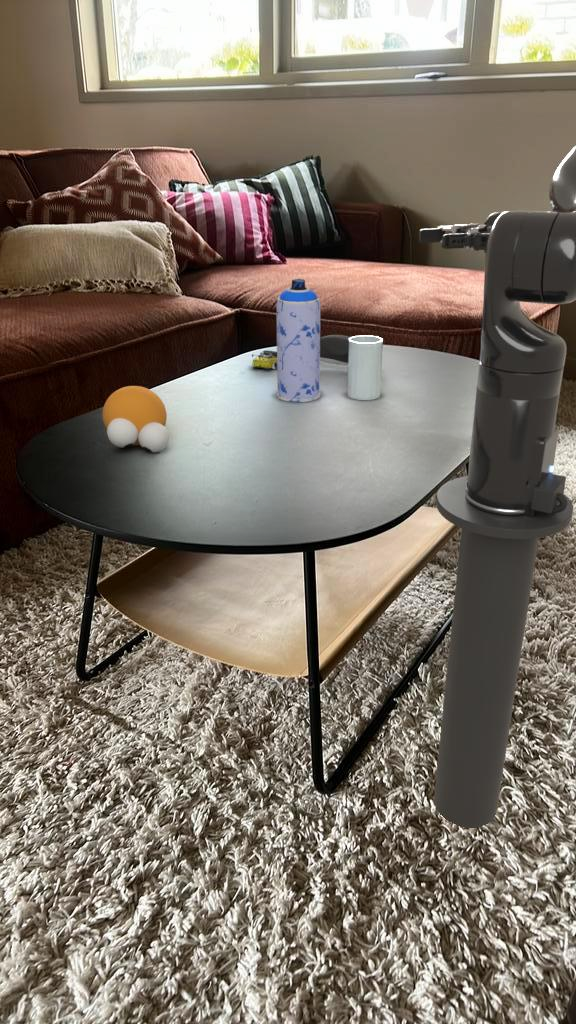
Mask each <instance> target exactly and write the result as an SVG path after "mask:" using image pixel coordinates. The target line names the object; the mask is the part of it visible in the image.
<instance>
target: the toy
mask: <svg viewBox="0 0 576 1024" xmlns="http://www.w3.org/2000/svg"><path fill="white" fill-rule="evenodd" d="M167 416H168V415H167V409H166V405H165V403H164V402H163V400H162V399H161V398H160V396H159V395H158V394H157V393H155V391H152V390H151V389H149V388H147V387H144V386H140V385H128V386H123V387H121V388H119V389H117V390H115V391H113V392H112V393H111V394H110V395H109V396H108V397H107V399H106V401H105V403H104V405H103V408H102V422H103V425H104V427H105V429H106V435H107V439H108V440H109V442H110V443H111V444H112V445H114V446H115V447H117V448H123V449H125V448H129V447H131V446H140V447H141V448H142V449H144V450H145V451H146V452H149V453H158V452H161V451H163V450H164V449H165V448H166V447H167V445H168V443H169V440H170V436H169V435H170V434H169V431H168V430H167V427H166V424H167Z"/></svg>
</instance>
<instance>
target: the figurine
mask: <svg viewBox="0 0 576 1024" xmlns="http://www.w3.org/2000/svg"><path fill="white" fill-rule="evenodd" d="M374 336H376V337H378V334H375V335H374ZM351 337H352V336H348V335H343V334H329V335H324V336H320V362H322V363H326V364H330V365H331V364H332V365H339V366H340V365H341V366H348V348H349V338H351Z"/></svg>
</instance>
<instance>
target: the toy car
mask: <svg viewBox="0 0 576 1024" xmlns="http://www.w3.org/2000/svg"><path fill="white" fill-rule="evenodd" d="M254 356H255V358H253V357H254ZM251 357H252V358H253V359H252V363H251V365H252V369H256V368H257V369H258V370H259V369H262V370H264V369H265V371H270V370H277V351H275V350H263V351H262V352H259V355H258V354H251Z"/></svg>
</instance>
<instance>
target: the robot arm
mask: <svg viewBox="0 0 576 1024" xmlns="http://www.w3.org/2000/svg"><path fill="white" fill-rule="evenodd" d="M548 192H549V193H548V196H549V202H550V203H549V204H550V207H551V210H552V211H544V210H543V211H542V210H507V211H497V212H496V211H495V212H492V213H490V214H489V215H488V216H487V218H485V219H486V220H485V221H484V223H483V224H480V223H479V222H478V223H477V222H471V223H470V224H466V223H465V224H453V225H437V227H436V228H421V229H419V231H418V242H419V243H420V244H430V243H432V244H433V243H439V244H441V248H442V249H445V250H451V249H453V250H454V249H465V250H467V251H468V250H469V251H477V252H478V251H483V252H484V253H485V259H484V278H483V282H484V283H483V299H482V300H483V301H482V314H481V315H482V316H481V328H480V353H479V362H478V364H479V365H478V372H477V382H476V383H477V384H476V391H475V401H474V409H473V410H474V411H473V418H472V419H473V421H472V429H471V431H472V432H471V441H470V452H469V459H468V469H467V476H468V479H467V487H466V490H465V499H466V501H467V502H468V503H469V504H470V505H471V506H473V507H474V508H476V509H478V510H481V511H484V512H487V513H490V514H495V515H501V516H527V517H532V518H533V517H535V516H536V515H537V513H538V512H539V511H540V512H545V513H549V514H550V513H551V514H552V515H553V514H556V513H559V512H562V511H564V510H565V509H566V507H567V500H566V498H565V497H564V496H563V494H565V488H566V482H567V476H566V475H565V476H564V475H561V474H560V475H558V474H555V473H553V472H554V468H555V466H554V465H555V458H556V451H557V445H558V439H559V434H560V432H559V431H560V428H559V426H557V425H556V421H557V416H558V415H557V414H558V407H559V400H560V394H561V388H562V382H563V374H564V367H565V363H566V358H567V357H566V356H567V343H566V341H565V340H564V338H562V337H561V336H560V335H559V334H557V333H555V332H553V331H551V330H549V329H546V327H543V326H541V325H539V324H538V323H536V322H535V321H533V320H532V319H531V318H530V317H529V316H528V315H527V314H526V313H525V311H523V309H522V307H521V303H531V304H541V305H542V304H544V305H566V304H571V303H573V302H575V301H576V145H574V147H573V148H572V149H570V151H568V153H567V154H566V156H565V157H564V159H562V161H561V163H560V164H559V166H558V167H557V169H556V170H555V172H554V173H553V176H552V178H551V181H550V185H549V191H548ZM446 232H448V233H446ZM559 502H560V504H559V505H557V504H558V503H559ZM556 505H557V506H556Z"/></svg>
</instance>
